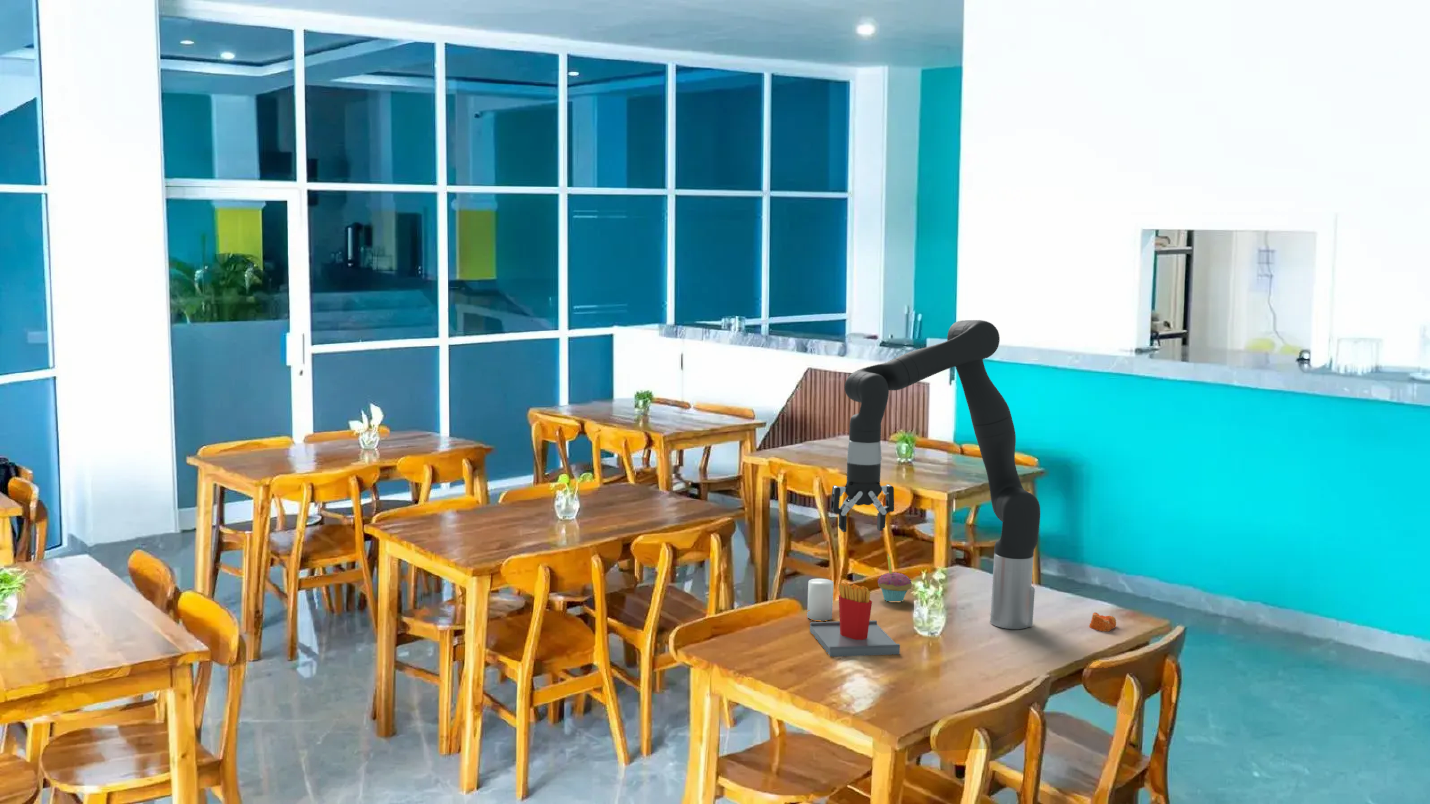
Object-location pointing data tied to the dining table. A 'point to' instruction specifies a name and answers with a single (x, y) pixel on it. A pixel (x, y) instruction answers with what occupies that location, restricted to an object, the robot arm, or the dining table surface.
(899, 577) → the cupcake
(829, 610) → the white rounded cylinder
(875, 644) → the slate board
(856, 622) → the french fries
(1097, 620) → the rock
